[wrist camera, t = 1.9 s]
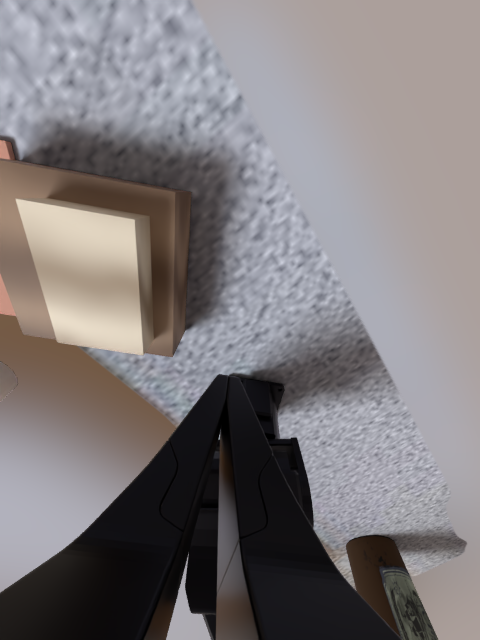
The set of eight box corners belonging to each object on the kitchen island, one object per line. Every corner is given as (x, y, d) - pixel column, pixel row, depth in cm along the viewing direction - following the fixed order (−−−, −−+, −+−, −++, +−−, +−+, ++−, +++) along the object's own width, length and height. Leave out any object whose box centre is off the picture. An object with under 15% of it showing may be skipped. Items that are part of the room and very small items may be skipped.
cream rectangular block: (153, 339, 18) (143, 355, 16) (76, 327, 18) (57, 342, 16) (149, 216, 13) (134, 219, 12) (46, 197, 13) (15, 198, 11)
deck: (184, 331, 22) (172, 357, 19) (59, 311, 22) (23, 334, 18) (191, 192, 16) (175, 192, 13) (19, 160, 16) (-46, 151, 12)
